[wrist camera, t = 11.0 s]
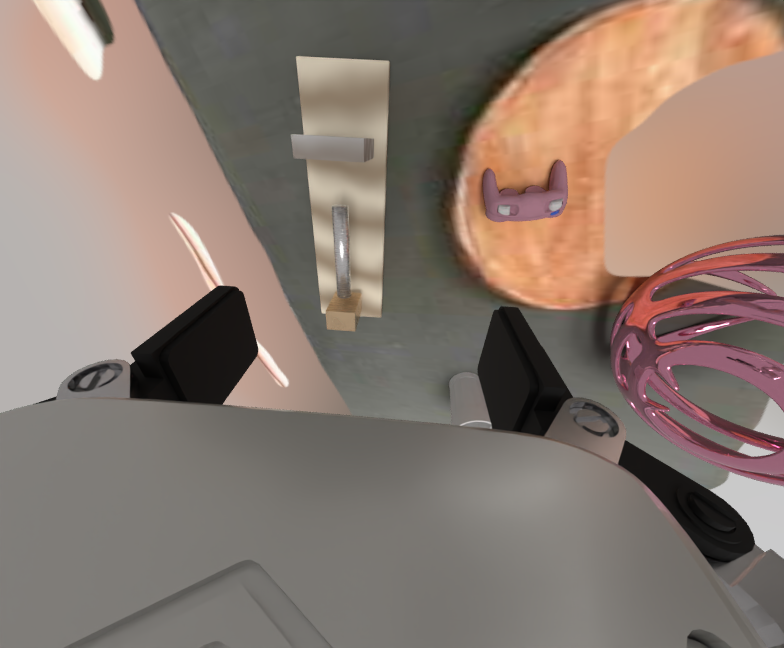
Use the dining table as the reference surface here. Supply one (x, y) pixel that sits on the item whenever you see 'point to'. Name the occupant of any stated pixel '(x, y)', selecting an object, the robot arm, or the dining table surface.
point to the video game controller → (526, 198)
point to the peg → (343, 277)
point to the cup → (468, 401)
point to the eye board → (346, 166)
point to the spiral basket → (702, 353)
